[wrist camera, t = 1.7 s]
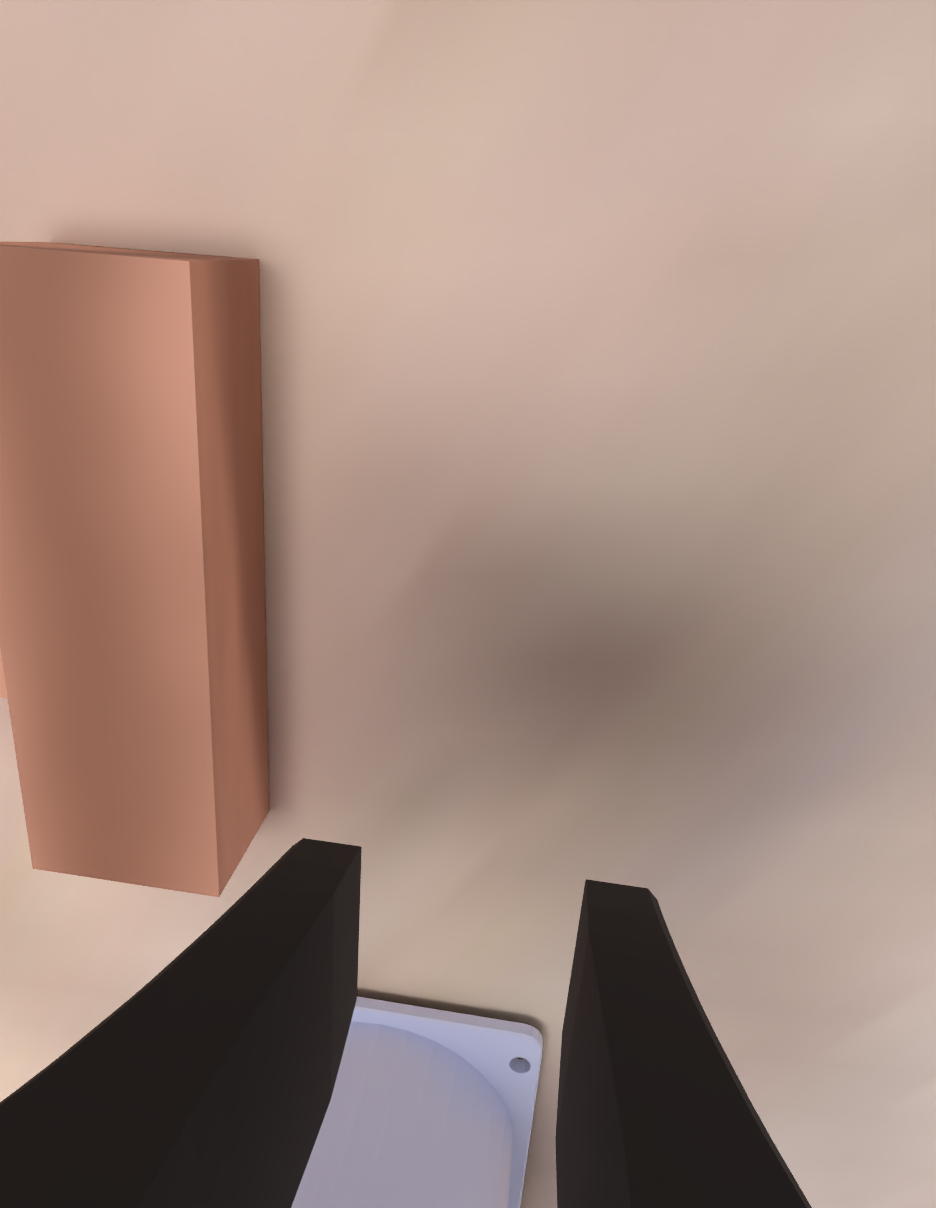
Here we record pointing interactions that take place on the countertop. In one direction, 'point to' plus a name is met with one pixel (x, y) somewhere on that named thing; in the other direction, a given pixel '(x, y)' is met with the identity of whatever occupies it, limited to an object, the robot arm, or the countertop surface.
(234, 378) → the t block
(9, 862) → the countertop surface
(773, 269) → the countertop surface
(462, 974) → the countertop surface
